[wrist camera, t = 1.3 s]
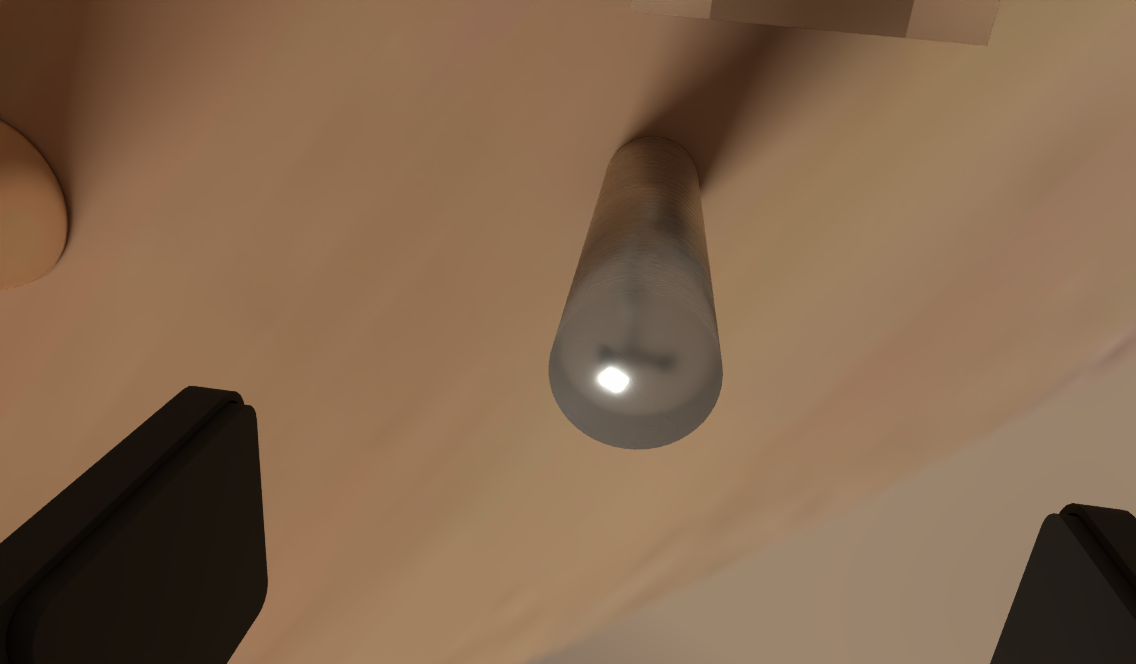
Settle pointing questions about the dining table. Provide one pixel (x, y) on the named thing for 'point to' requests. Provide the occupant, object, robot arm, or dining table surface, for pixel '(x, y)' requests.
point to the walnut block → (848, 16)
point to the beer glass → (28, 212)
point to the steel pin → (641, 307)
